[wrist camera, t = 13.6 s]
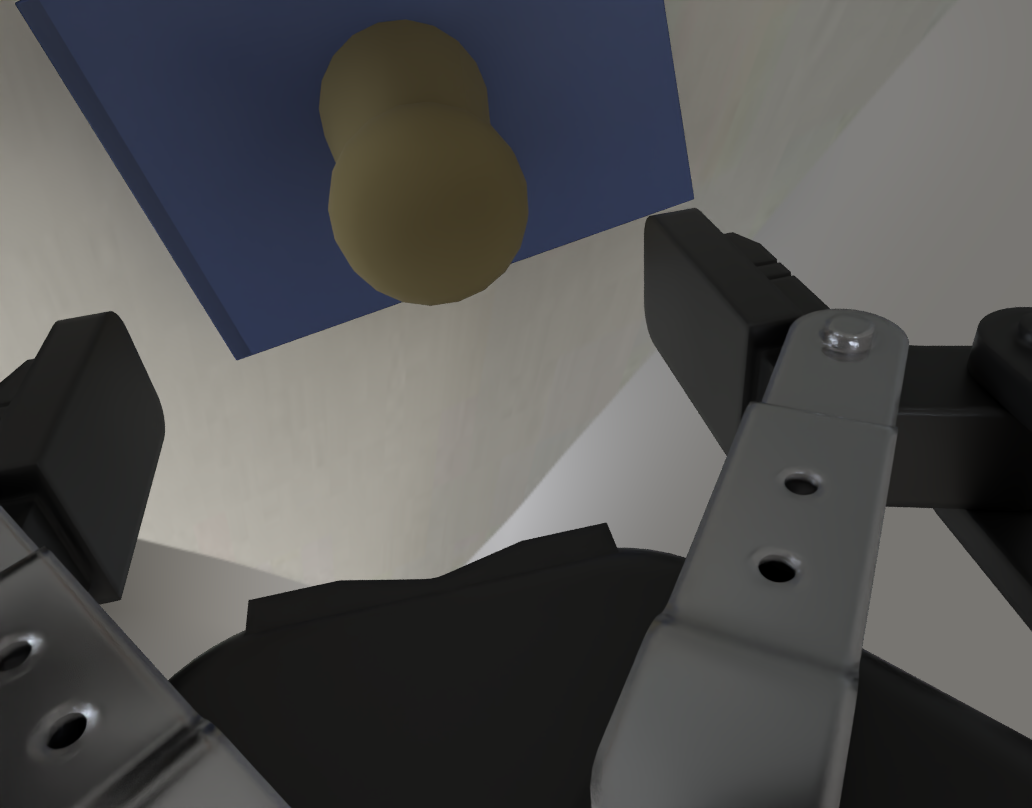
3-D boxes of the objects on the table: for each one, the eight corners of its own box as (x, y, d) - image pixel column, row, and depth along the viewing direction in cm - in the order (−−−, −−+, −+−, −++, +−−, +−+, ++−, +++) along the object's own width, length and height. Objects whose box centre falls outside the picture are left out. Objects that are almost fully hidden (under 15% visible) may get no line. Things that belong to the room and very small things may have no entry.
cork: (388, 224, 30) (408, 379, 21) (281, 87, 27) (253, 204, 18) (519, 134, 29) (597, 259, 20) (426, -20, 26) (472, 49, 17)
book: (243, 323, 35) (236, 361, 32) (44, -12, 27) (13, 2, 24) (668, 173, 35) (694, 199, 32) (601, -216, 26) (630, -222, 24)
